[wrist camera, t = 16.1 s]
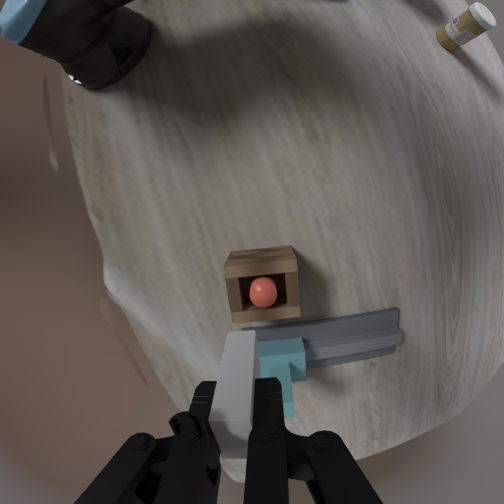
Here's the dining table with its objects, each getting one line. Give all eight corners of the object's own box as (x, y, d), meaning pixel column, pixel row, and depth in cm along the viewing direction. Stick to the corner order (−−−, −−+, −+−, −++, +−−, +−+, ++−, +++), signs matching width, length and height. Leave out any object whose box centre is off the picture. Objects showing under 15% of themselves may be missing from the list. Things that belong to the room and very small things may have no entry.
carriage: (256, 368, 39) (253, 425, 28) (252, 341, 38) (248, 397, 27) (302, 364, 39) (313, 420, 27) (301, 336, 38) (313, 391, 26)
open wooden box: (237, 300, 39) (232, 323, 32) (230, 252, 37) (223, 266, 30) (294, 294, 38) (300, 316, 31) (290, 245, 37) (296, 258, 30)
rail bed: (249, 370, 41) (247, 381, 39) (242, 327, 40) (240, 338, 37) (391, 349, 40) (398, 359, 37) (396, 307, 38) (404, 315, 35)
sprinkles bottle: (433, 27, 26) (472, -4, 13) (453, 37, 26) (493, 11, 13) (437, 45, 27) (479, 16, 14) (456, 55, 27) (500, 31, 14)
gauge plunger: (253, 293, 35) (251, 308, 31) (250, 271, 34) (248, 283, 30) (276, 291, 35) (278, 305, 30) (274, 268, 34) (275, 280, 30)
